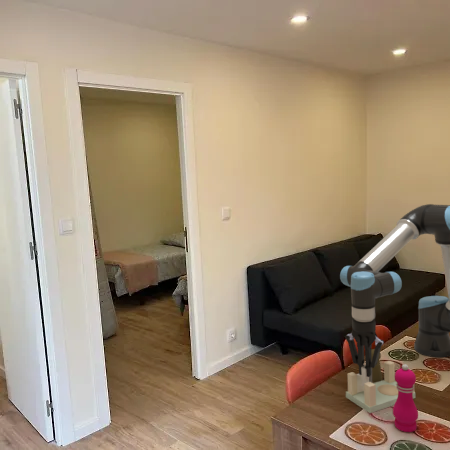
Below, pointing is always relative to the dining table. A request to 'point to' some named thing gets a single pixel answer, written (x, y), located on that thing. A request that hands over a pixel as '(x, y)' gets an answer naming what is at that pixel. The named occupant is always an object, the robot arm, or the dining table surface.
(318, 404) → the dining table surface
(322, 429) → the dining table surface
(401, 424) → the pepper mill
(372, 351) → the pepper shaker
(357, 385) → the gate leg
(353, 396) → the stand
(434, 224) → the robot arm
